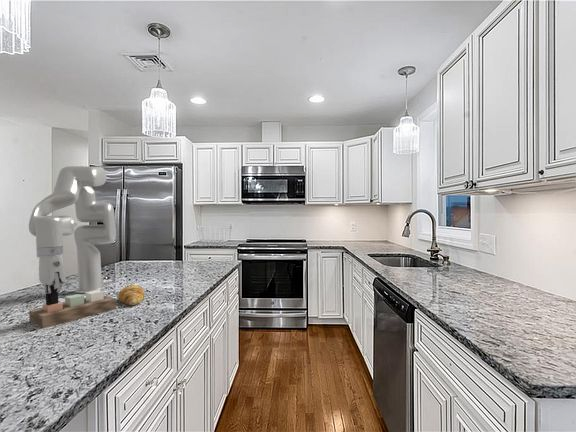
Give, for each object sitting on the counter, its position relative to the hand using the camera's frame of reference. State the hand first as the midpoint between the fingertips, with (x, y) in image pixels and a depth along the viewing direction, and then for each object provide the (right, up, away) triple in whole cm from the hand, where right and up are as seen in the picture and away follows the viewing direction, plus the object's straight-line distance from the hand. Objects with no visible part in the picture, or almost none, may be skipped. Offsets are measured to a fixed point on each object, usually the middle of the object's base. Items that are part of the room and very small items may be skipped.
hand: (52, 303), depth 115 cm
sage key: (+4, -3, +6) cm, 8 cm away
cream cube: (+8, -3, +12) cm, 14 cm away
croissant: (+16, -5, +23) cm, 29 cm away
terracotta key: (0, -4, 0) cm, 4 cm away
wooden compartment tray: (+4, -6, +6) cm, 9 cm away
